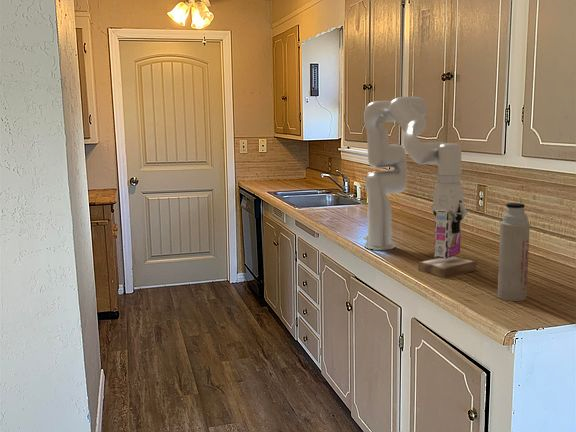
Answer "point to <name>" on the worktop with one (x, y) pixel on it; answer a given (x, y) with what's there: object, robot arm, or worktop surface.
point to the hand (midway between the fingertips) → (448, 231)
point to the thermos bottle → (513, 253)
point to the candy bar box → (445, 235)
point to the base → (447, 266)
